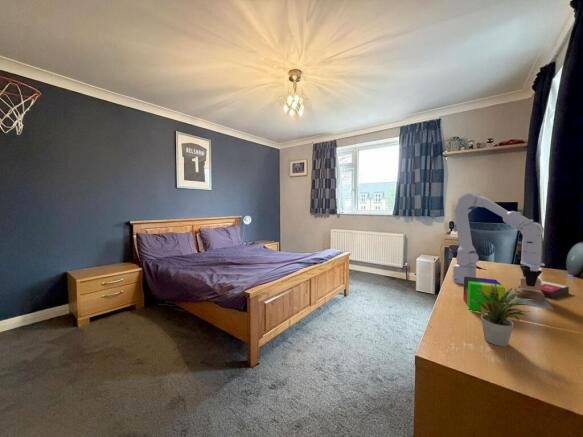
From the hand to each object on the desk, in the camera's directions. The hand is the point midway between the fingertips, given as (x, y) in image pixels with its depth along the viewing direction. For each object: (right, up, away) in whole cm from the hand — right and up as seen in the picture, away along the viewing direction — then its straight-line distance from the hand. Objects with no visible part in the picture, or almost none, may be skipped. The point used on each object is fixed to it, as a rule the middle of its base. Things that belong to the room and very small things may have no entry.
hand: (529, 284), depth 100 cm
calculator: (+12, -6, +6) cm, 15 cm away
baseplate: (-6, -6, 0) cm, 9 cm away
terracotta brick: (0, -1, 0) cm, 1 cm away
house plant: (-41, -8, -32) cm, 53 cm away
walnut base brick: (0, -5, 0) cm, 5 cm away
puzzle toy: (-27, -7, -9) cm, 29 cm away
